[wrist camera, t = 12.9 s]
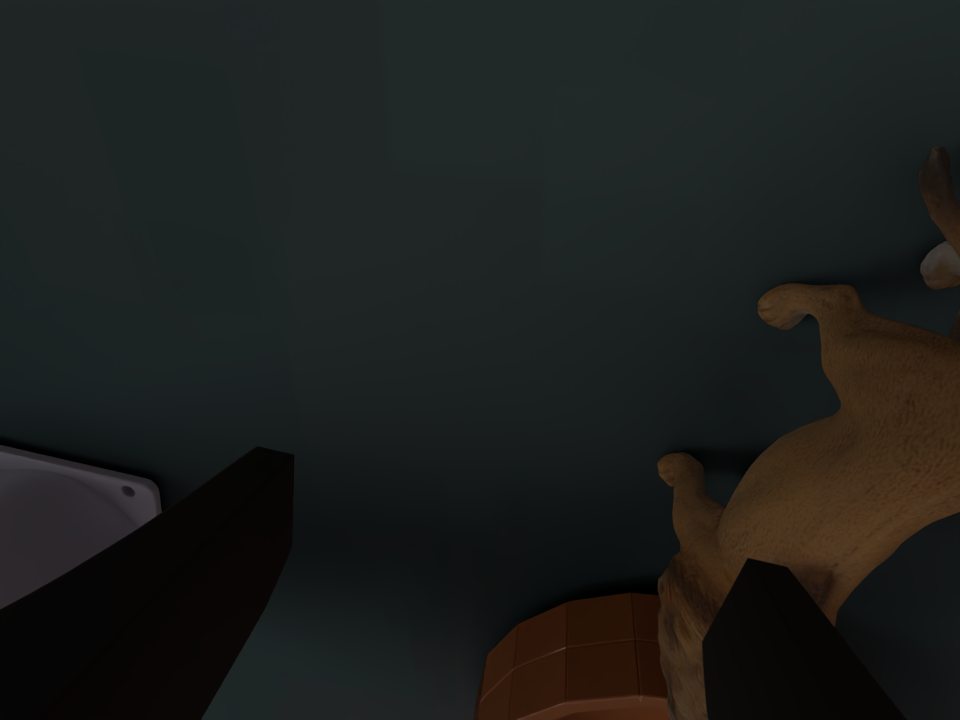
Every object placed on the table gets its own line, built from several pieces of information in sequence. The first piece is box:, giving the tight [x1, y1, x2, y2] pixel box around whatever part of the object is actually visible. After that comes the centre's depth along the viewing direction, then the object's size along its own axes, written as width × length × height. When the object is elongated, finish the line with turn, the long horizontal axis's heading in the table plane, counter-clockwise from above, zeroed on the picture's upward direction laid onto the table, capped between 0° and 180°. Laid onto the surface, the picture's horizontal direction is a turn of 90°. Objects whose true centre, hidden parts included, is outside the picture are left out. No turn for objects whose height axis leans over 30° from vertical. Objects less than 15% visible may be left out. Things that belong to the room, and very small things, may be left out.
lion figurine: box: [657, 146, 960, 720], centre depth 15 cm, size 15×5×9 cm, turn 168°
